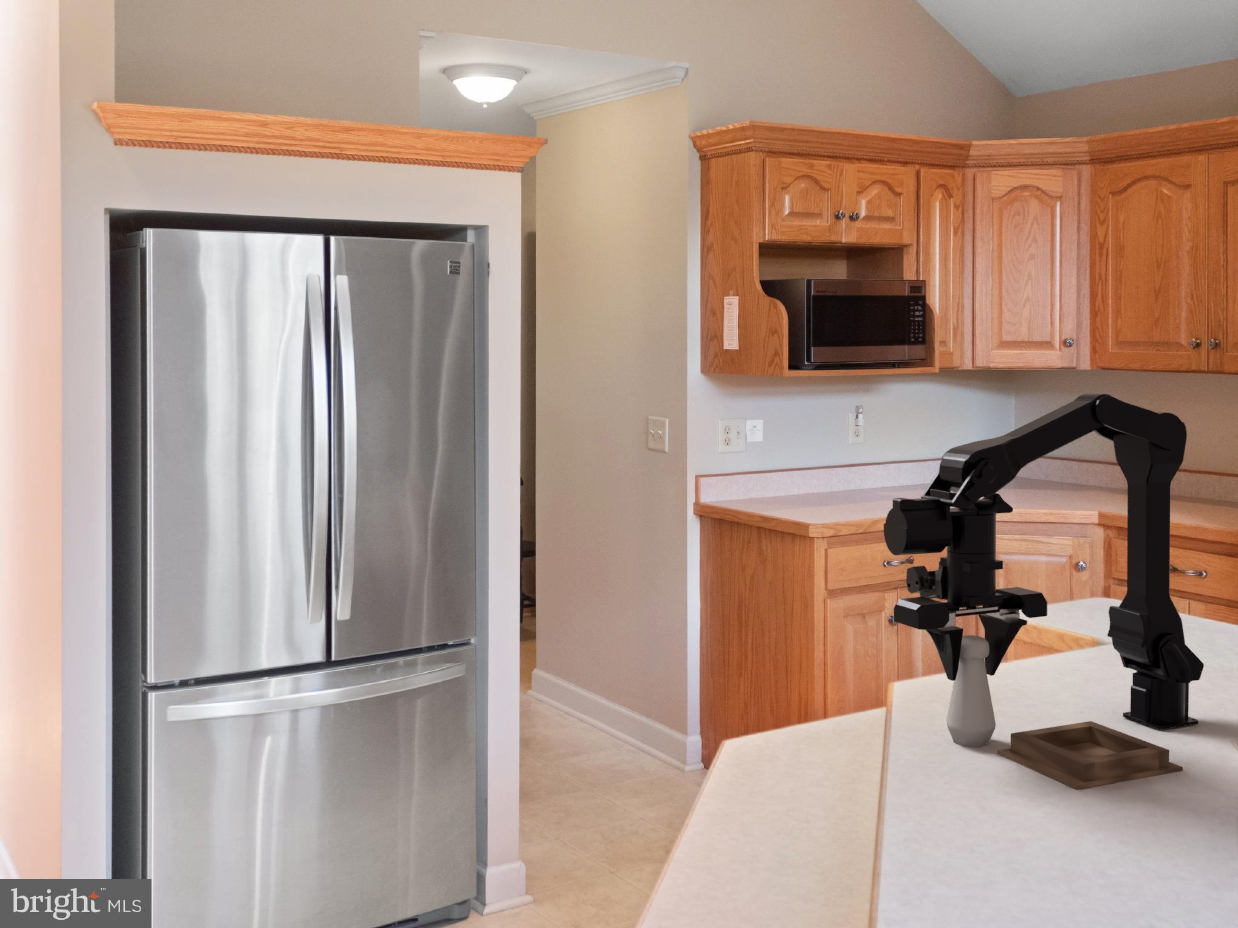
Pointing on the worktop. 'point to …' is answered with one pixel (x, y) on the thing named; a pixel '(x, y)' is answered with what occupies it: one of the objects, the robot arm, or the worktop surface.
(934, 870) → the worktop surface
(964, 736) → the salt shaker
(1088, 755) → the brown flat rectangular frame
